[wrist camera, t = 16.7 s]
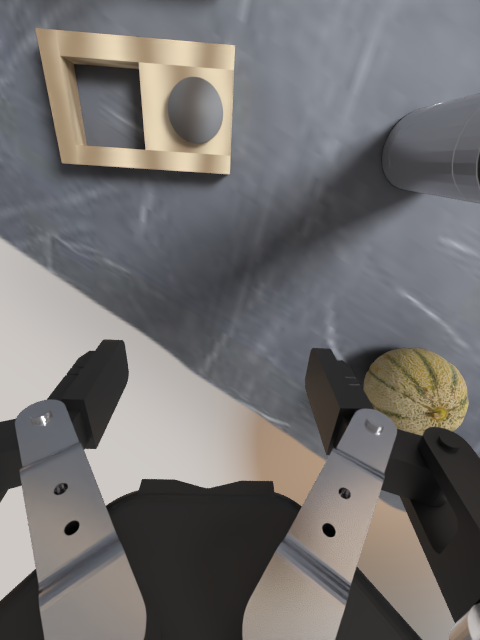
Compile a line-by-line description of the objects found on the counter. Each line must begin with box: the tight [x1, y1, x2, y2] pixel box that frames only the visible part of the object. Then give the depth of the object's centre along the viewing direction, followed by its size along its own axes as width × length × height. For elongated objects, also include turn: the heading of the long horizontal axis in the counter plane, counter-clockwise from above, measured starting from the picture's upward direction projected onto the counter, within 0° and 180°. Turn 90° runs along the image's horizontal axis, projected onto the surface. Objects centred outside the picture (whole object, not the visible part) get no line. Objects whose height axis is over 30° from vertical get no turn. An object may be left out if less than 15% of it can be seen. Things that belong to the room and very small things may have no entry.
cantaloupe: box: [363, 348, 468, 436], centre depth 48 cm, size 15×15×15 cm
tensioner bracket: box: [35, 28, 235, 174], centre depth 34 cm, size 20×12×4 cm, turn 87°
